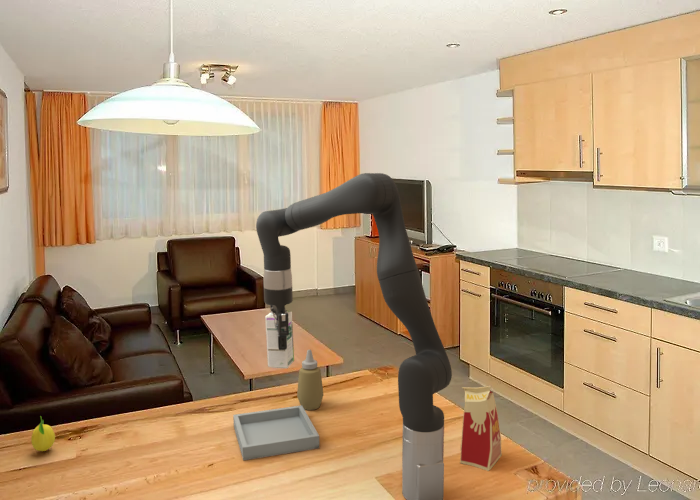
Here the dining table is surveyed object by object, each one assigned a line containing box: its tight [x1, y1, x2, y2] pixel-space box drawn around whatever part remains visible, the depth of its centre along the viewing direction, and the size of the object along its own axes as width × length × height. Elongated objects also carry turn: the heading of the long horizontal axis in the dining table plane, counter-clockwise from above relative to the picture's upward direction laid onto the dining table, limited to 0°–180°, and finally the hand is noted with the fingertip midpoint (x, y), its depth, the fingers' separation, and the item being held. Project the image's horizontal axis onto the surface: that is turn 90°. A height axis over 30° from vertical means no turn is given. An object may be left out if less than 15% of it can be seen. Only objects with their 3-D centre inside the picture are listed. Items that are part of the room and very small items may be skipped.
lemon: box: [30, 415, 56, 452], centre depth 157 cm, size 7×6×10 cm
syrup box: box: [264, 309, 295, 369], centre depth 162 cm, size 6×6×14 cm
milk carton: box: [459, 385, 503, 472], centre depth 151 cm, size 9×9×20 cm
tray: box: [232, 405, 320, 461], centre depth 165 cm, size 20×20×4 cm
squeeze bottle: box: [296, 349, 324, 411], centre depth 183 cm, size 8×8×18 cm
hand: (279, 344), depth 162 cm, fingers closed on syrup box, 7 cm apart
